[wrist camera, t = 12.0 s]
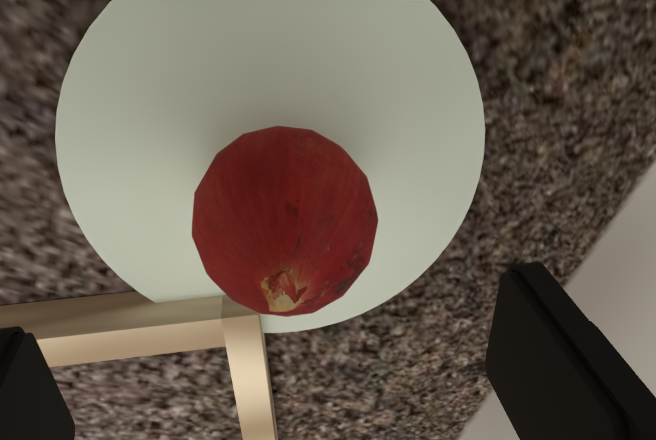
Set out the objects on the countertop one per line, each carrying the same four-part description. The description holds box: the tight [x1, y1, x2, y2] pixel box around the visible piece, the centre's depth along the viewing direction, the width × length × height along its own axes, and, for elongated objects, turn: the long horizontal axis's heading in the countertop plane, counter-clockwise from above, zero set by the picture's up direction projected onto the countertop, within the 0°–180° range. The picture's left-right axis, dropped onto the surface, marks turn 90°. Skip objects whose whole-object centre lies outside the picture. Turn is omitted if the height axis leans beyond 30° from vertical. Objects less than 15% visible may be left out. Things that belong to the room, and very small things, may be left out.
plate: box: [55, 0, 485, 333], centre depth 20 cm, size 16×16×1 cm
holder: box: [0, 291, 278, 440], centre depth 25 cm, size 13×13×2 cm
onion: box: [192, 126, 378, 317], centre depth 17 cm, size 6×6×8 cm
